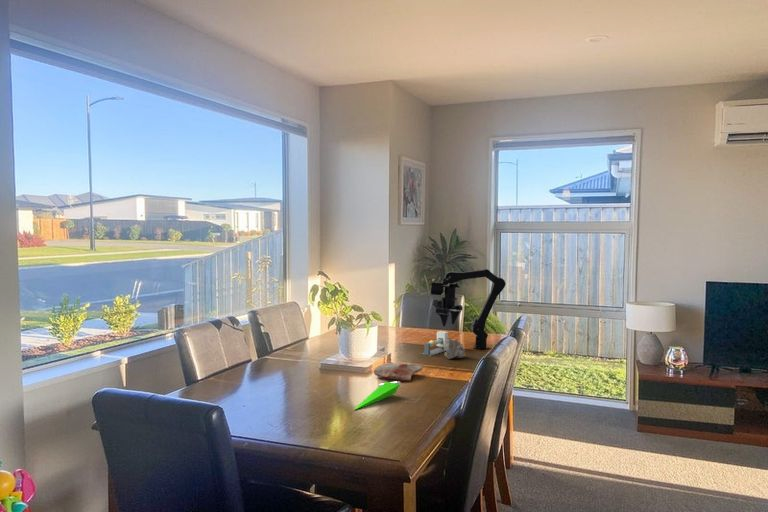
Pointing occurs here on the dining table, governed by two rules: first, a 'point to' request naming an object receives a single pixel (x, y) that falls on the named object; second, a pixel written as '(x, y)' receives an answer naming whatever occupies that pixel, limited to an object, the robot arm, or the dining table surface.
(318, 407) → the dining table surface
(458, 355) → the rock
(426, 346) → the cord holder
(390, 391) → the green wedge
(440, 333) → the sleeve
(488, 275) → the robot arm
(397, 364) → the stone
